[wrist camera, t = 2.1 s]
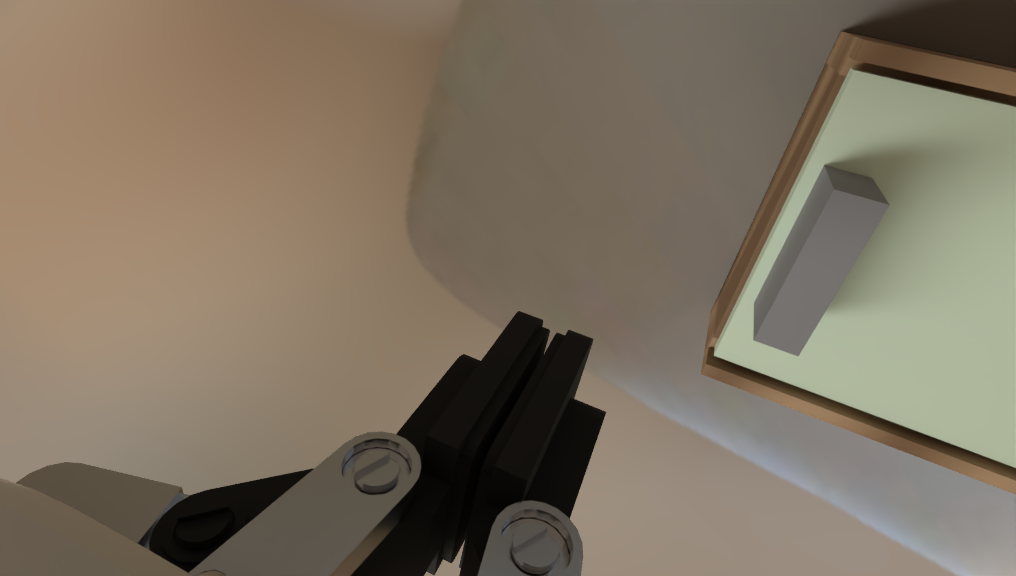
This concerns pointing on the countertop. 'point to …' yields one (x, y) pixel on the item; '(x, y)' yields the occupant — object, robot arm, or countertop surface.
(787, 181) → the wooden drawer box
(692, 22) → the countertop surface
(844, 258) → the lid
